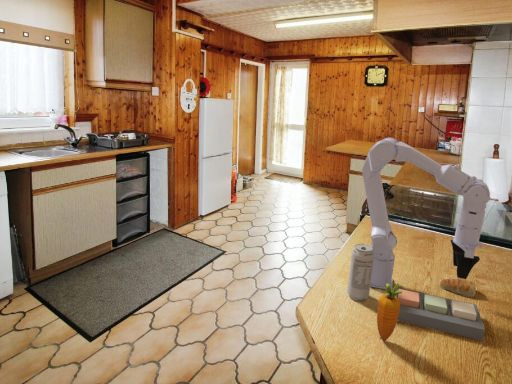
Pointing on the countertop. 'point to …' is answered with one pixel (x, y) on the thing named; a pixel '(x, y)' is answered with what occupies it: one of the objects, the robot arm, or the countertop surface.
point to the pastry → (459, 286)
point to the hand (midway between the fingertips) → (459, 271)
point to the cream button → (463, 310)
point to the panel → (442, 319)
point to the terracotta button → (409, 298)
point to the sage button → (435, 304)
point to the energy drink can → (360, 272)
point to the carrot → (388, 312)
